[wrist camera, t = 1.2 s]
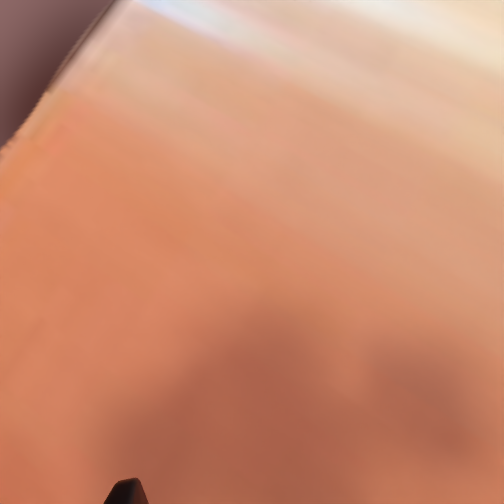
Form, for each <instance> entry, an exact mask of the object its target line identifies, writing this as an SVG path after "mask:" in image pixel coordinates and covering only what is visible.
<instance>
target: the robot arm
mask: <svg viewBox="0 0 504 504" xmlns="http://www.w3.org/2000/svg"><path fill="white" fill-rule="evenodd" d="M104 504H149V503H148V500H147V498H146V495H145V492H144V490H143V487H142V485H141V482H140V480H139V479H138V478H131V479H126V480H121V481H118V482H117V483H116V484H115V485H114V487H113V488H112V490H111V492H110V494H109V495H108V497H107V499H106V500H105V502H104Z"/></svg>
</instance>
